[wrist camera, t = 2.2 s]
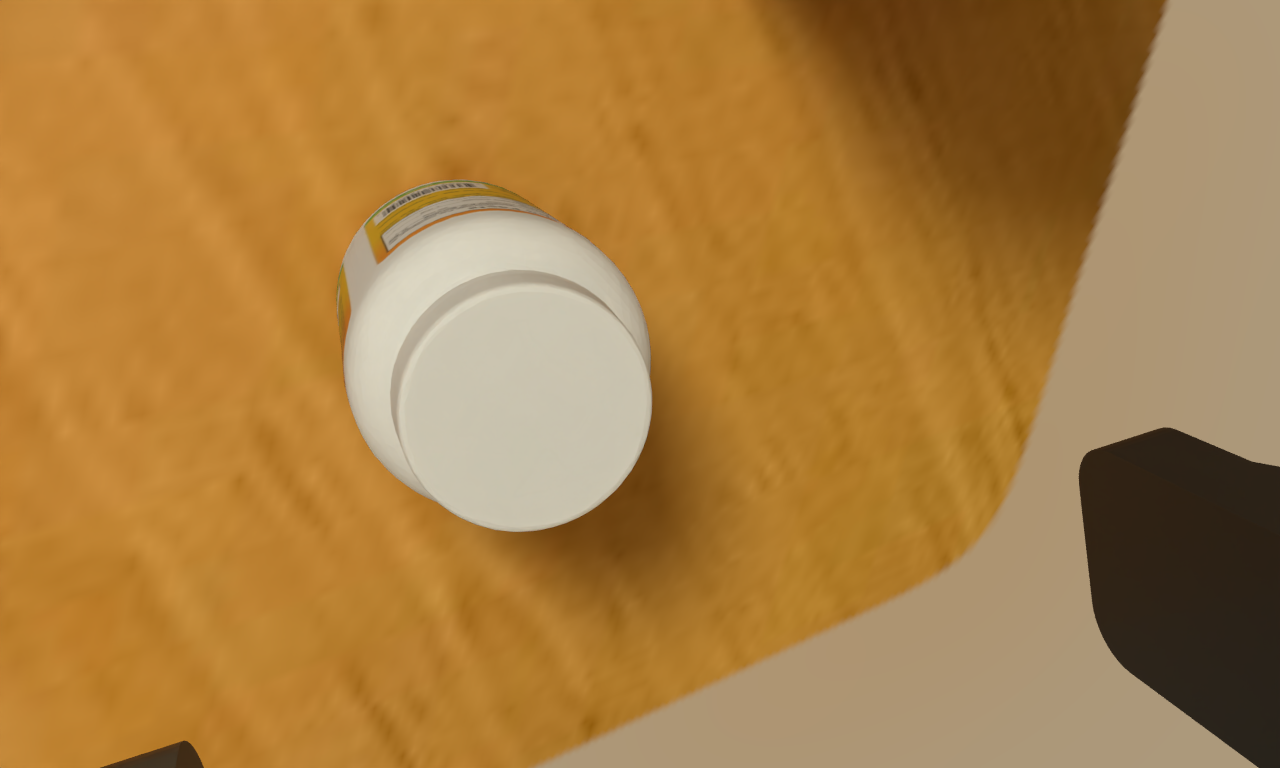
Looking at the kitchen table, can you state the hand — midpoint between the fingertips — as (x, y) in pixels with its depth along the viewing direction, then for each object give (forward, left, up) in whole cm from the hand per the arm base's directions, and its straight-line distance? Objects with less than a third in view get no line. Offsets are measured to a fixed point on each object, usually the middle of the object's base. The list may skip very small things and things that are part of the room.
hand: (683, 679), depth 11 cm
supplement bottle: (0, 0, -19) cm, 19 cm away
